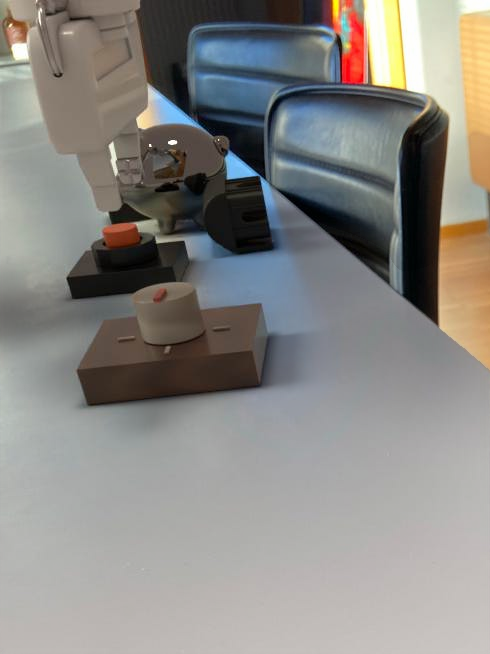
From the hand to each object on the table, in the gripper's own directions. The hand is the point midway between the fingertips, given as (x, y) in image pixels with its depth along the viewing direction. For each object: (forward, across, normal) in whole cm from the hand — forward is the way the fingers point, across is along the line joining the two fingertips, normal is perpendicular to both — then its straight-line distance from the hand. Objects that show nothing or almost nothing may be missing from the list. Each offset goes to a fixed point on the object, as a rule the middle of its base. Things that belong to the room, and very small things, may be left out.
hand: (123, 195), depth 80 cm
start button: (+10, +28, +8) cm, 31 cm away
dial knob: (+11, -1, -1) cm, 11 cm away
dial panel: (+14, -1, -2) cm, 14 cm away
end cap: (+14, +38, -3) cm, 41 cm away
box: (+14, +28, +8) cm, 32 cm away
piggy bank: (+14, +49, +5) cm, 51 cm away
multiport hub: (+14, +57, +10) cm, 60 cm away
